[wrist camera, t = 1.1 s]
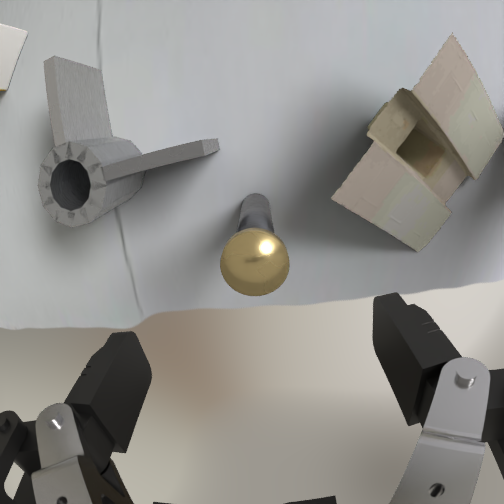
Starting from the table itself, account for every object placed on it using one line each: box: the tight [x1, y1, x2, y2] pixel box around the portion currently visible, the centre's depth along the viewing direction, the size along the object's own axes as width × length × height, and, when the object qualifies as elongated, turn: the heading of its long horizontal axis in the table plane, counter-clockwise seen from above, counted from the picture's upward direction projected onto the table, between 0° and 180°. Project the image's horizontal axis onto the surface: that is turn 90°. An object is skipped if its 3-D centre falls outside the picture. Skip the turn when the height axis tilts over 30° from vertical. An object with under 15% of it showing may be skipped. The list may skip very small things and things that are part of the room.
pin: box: [220, 193, 289, 296], centre depth 22 cm, size 3×3×13 cm
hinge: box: [38, 56, 220, 228], centre depth 21 cm, size 13×13×8 cm
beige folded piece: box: [331, 32, 504, 252], centre depth 22 cm, size 16×9×15 cm
